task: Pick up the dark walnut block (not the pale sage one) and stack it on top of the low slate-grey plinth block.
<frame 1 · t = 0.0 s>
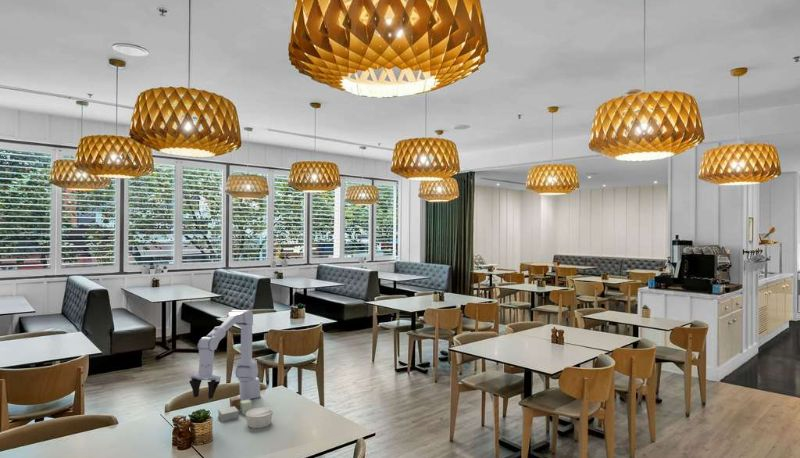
hand: (203, 397, 213), 11 cm above the table, fingers open, 7 cm apart
sage block: (246, 412, 223), on the table
plinth block: (228, 416, 218), on the table
ramekin: (259, 424, 209), on the table
walnut block: (235, 409, 227), on the table
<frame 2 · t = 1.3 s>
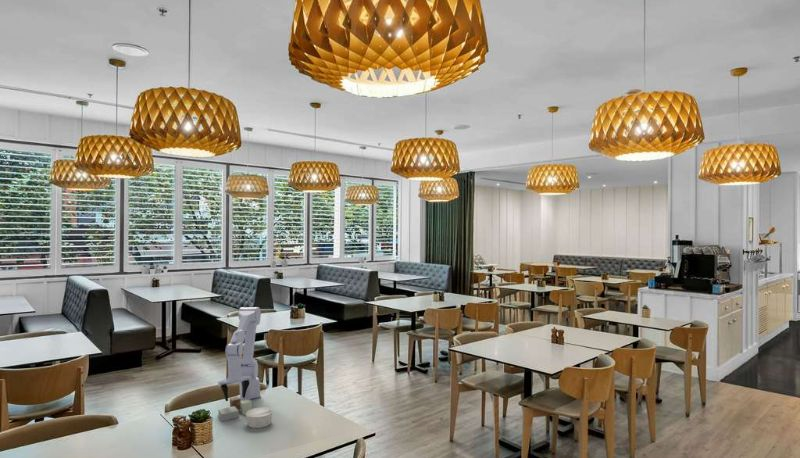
hand: (235, 398, 227), 5 cm above the table, fingers open, 7 cm apart
nothing on the table moved.
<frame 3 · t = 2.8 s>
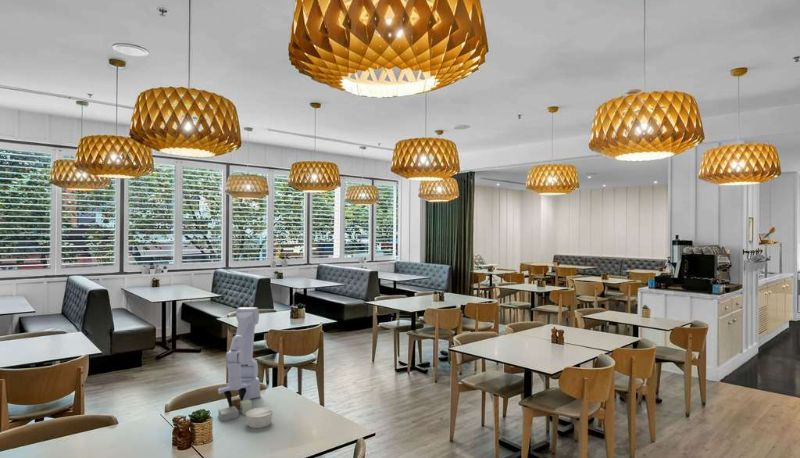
hand: (235, 406, 227), 1 cm above the table, fingers closed on walnut block, 4 cm apart
walnut block: (235, 409, 227), on the table, touching gripper
everything else where it was.
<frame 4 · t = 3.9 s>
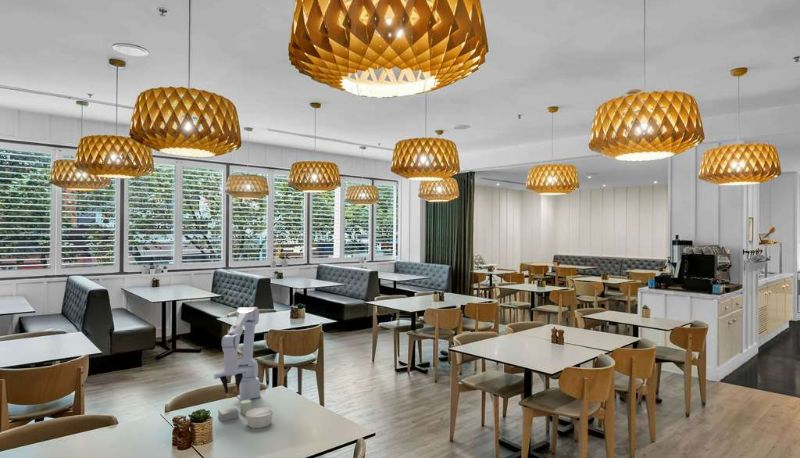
hand: (231, 391, 222), 10 cm above the table, fingers closed on walnut block, 4 cm apart
walnut block: (231, 396, 222), point 8 cm above the table, touching gripper
everything else where it was.
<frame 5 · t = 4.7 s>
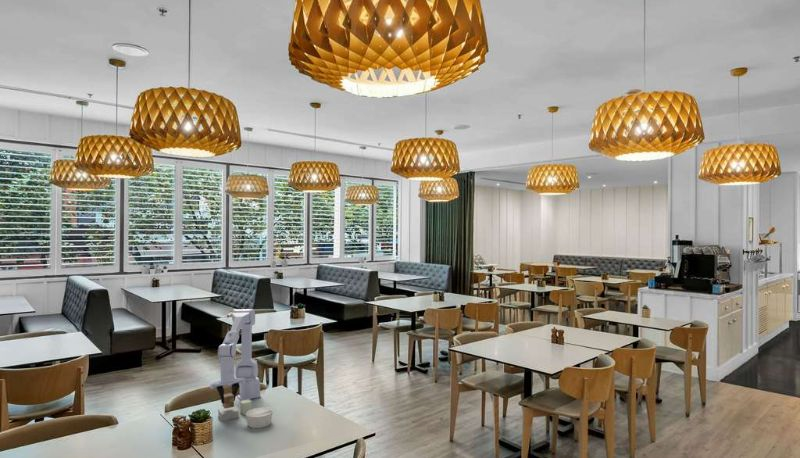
hand: (228, 401, 218), 7 cm above the table, fingers closed on walnut block, 4 cm apart
walnut block: (228, 406, 218), point 5 cm above the table, touching gripper
everything else where it was.
when the fingers open (6 cm above the table, at t = 5.3 s): walnut block stays where it is, resting on plinth block.
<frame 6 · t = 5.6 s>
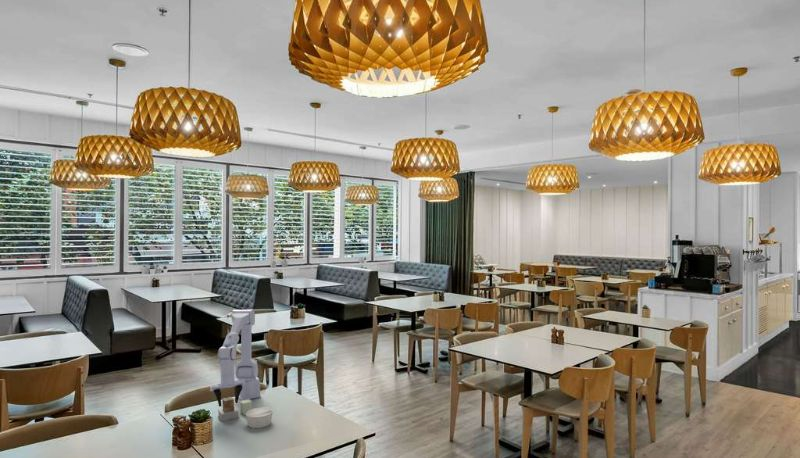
hand: (228, 404, 218), 6 cm above the table, fingers open, 6 cm apart
walnut block: (228, 410, 218), point 3 cm above the table, touching plinth block
everything else where it was.
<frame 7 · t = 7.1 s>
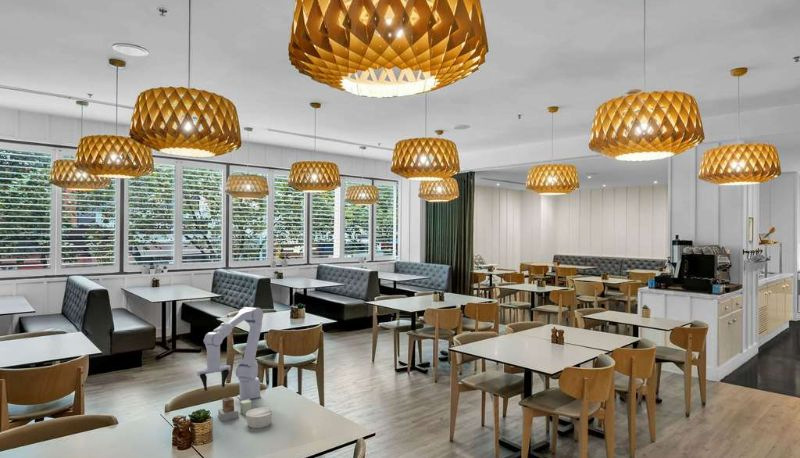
hand: (214, 388, 225), 10 cm above the table, fingers open, 7 cm apart
nothing on the table moved.
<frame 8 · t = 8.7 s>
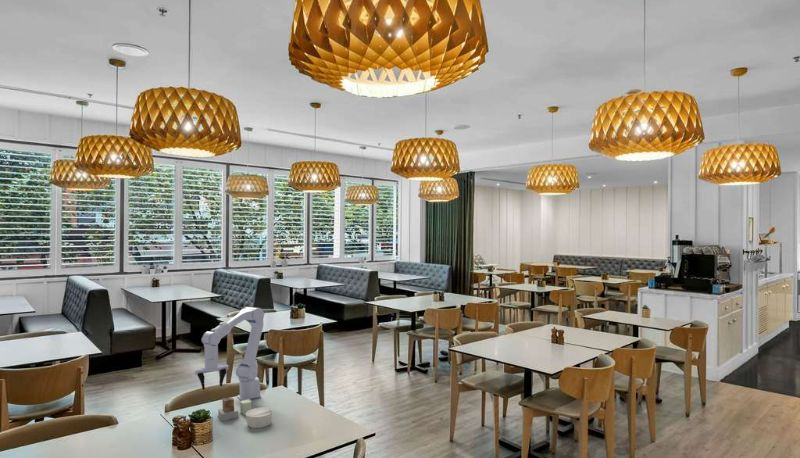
hand: (212, 387, 227), 10 cm above the table, fingers open, 7 cm apart
nothing on the table moved.
at the end: walnut block 0.1 cm off-centre on the plinth block, point 3.0 cm above the plinth block's base; walnut block tilted 0°; the gripper is holding nothing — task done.
